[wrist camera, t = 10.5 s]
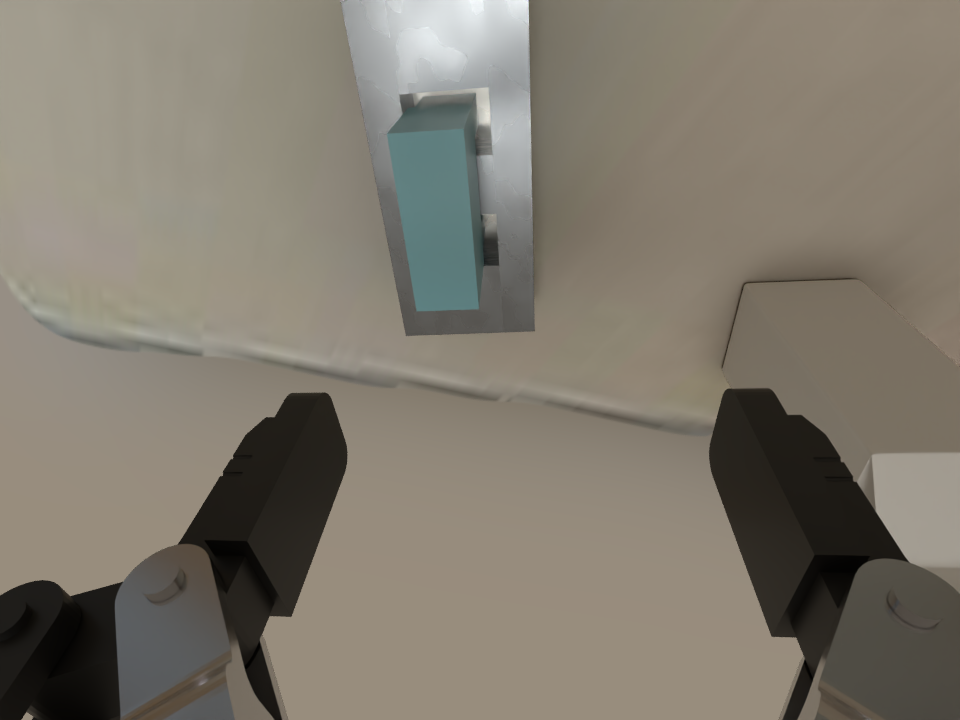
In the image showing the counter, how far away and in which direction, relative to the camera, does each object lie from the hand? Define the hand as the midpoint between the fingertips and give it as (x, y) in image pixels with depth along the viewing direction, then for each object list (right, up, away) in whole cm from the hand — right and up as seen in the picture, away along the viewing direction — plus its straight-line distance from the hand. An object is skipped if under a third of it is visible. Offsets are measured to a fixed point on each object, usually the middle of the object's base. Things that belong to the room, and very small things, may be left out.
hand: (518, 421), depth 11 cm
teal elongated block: (-2, +12, +19) cm, 22 cm away
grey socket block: (-2, +13, +19) cm, 23 cm away
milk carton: (+20, +4, +24) cm, 32 cm away
